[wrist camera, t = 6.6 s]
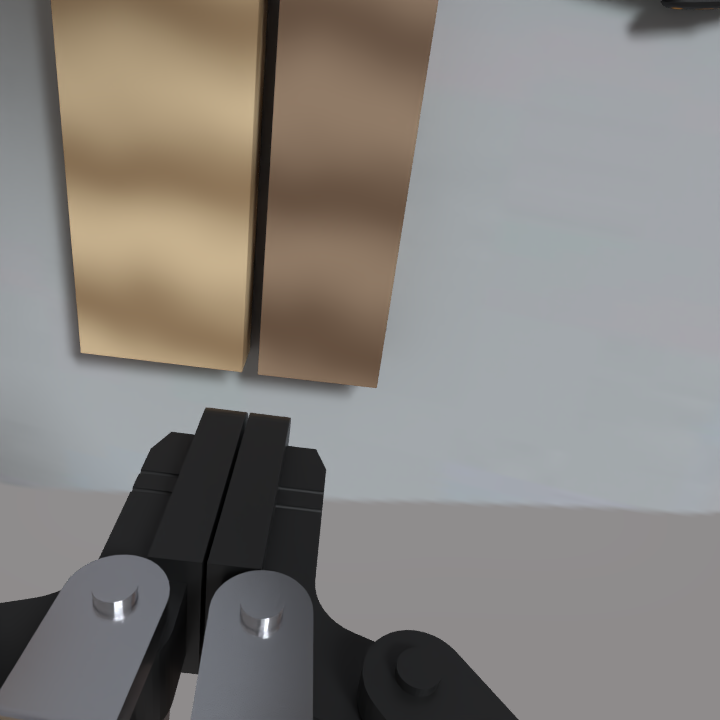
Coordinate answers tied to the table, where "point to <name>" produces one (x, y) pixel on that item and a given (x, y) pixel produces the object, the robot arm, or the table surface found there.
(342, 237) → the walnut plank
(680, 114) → the table surface
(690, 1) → the carrying case or bag
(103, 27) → the oak plank
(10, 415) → the table surface
